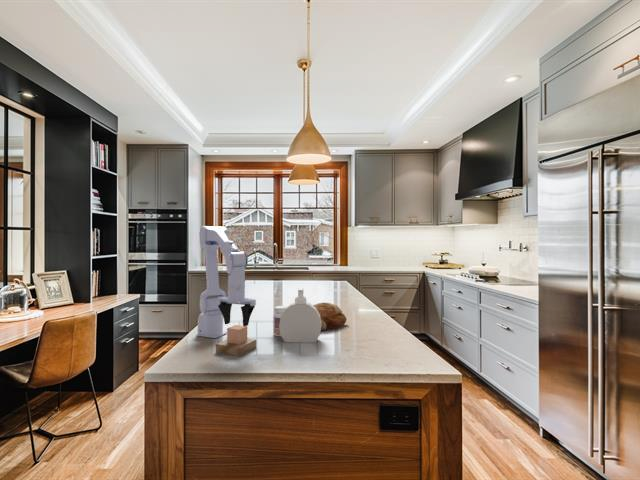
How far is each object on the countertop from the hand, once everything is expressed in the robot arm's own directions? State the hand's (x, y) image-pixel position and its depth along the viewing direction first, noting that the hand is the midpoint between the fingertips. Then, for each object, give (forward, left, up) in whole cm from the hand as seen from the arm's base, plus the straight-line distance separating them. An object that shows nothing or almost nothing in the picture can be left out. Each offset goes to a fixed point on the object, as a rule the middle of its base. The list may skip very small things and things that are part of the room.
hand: (236, 324), depth 130 cm
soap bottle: (+16, +19, -9) cm, 27 cm away
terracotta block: (0, 0, -6) cm, 6 cm away
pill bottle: (+5, +24, -9) cm, 26 cm away
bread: (+14, +43, -10) cm, 46 cm away
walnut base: (0, 0, -9) cm, 9 cm away
